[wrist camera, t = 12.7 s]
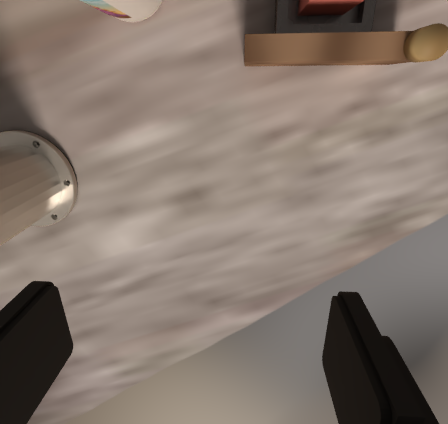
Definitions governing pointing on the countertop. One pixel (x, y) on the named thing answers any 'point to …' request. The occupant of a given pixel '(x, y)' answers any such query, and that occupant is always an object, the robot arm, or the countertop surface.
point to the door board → (346, 47)
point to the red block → (325, 7)
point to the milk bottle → (126, 8)
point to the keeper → (323, 19)
